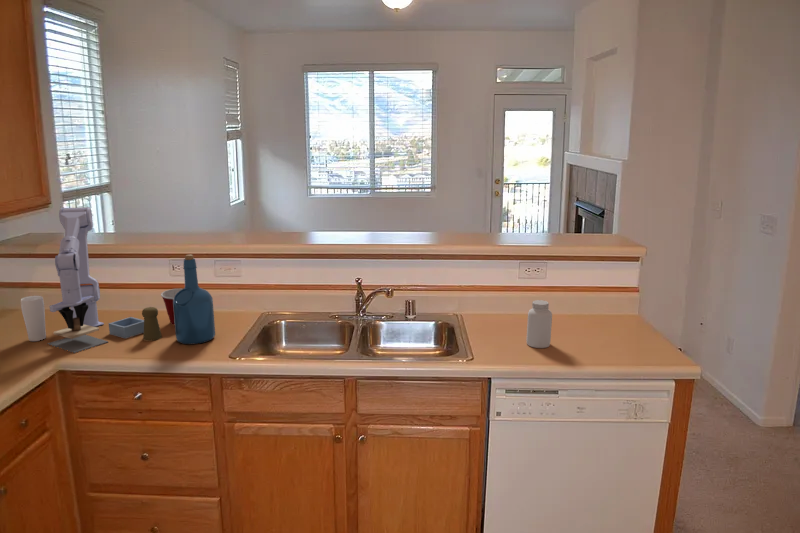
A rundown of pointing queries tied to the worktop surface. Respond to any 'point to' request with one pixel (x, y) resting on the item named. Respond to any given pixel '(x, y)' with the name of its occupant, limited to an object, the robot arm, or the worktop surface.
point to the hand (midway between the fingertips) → (75, 326)
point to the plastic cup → (170, 302)
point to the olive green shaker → (151, 324)
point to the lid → (76, 330)
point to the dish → (127, 327)
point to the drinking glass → (34, 317)
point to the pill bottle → (539, 325)
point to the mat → (78, 343)
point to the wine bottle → (193, 309)
